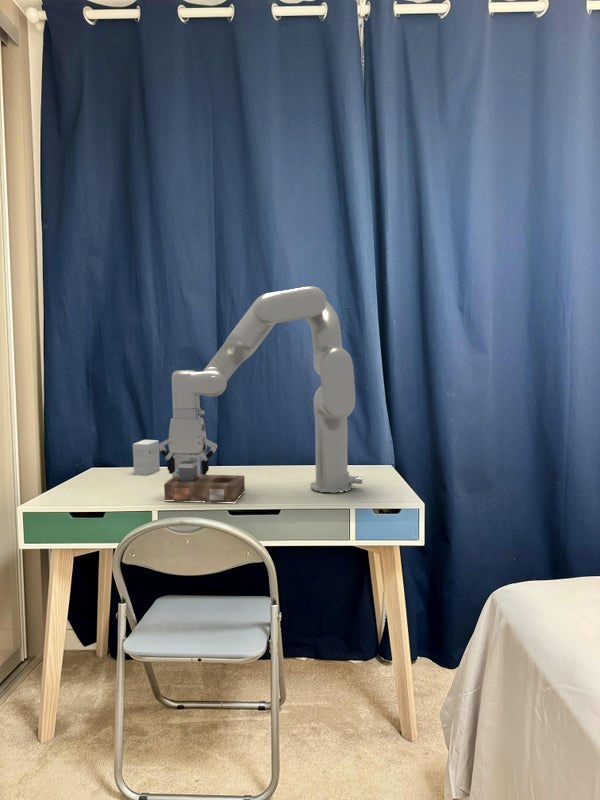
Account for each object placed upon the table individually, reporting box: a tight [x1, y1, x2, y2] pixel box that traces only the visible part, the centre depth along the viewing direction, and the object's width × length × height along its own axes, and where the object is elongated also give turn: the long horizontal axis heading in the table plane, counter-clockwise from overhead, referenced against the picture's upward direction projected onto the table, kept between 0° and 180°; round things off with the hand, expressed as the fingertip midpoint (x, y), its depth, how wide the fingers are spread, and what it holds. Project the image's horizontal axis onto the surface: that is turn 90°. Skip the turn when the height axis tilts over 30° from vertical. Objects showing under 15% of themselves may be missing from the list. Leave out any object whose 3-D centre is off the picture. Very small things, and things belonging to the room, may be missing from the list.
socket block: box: [163, 474, 246, 502], centre depth 172 cm, size 20×12×5 cm, turn 82°
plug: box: [179, 461, 198, 482], centre depth 172 cm, size 4×4×10 cm
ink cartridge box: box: [171, 449, 207, 479], centre depth 192 cm, size 10×6×14 cm, turn 78°
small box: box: [132, 439, 161, 476], centre depth 203 cm, size 8×6×10 cm
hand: (188, 473), depth 172 cm, fingers open, 9 cm apart
